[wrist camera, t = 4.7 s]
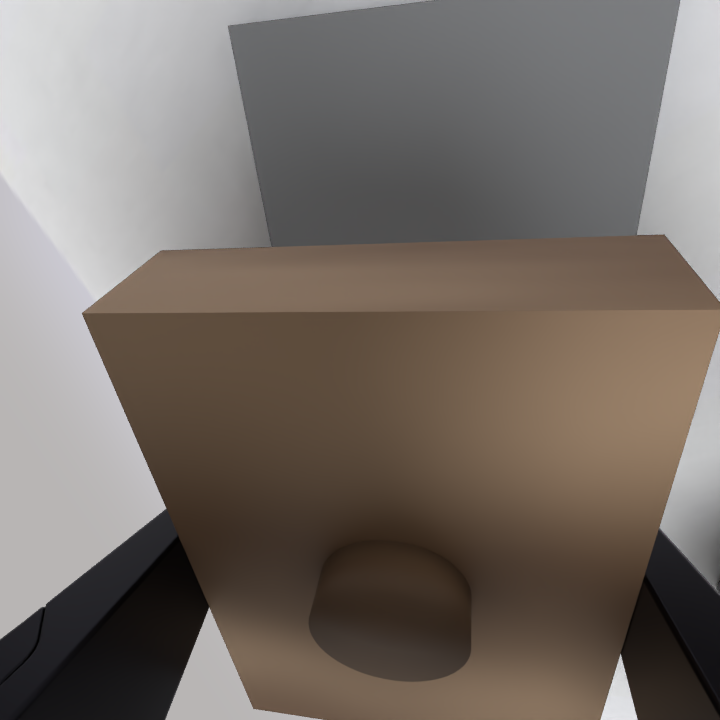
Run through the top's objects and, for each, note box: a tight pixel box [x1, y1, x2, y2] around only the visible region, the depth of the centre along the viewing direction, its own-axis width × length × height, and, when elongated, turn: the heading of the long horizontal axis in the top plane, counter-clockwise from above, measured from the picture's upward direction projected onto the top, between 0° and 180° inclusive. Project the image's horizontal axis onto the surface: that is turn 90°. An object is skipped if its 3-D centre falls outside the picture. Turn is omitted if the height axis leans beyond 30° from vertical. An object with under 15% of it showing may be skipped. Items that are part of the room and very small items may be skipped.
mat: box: [228, 0, 680, 247], centre depth 19 cm, size 16×12×1 cm
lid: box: [82, 235, 720, 720], centre depth 9 cm, size 10×7×3 cm
